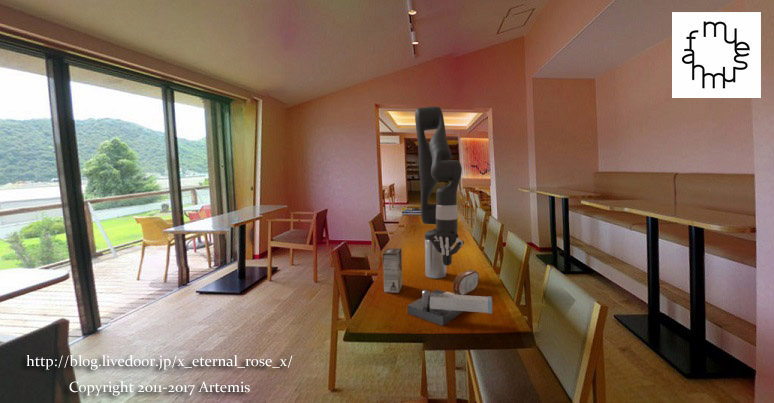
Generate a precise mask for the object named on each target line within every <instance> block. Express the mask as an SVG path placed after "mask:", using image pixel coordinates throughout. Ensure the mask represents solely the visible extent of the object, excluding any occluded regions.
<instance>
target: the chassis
mask: <svg viewBox="0 0 774 403" xmlns="http://www.w3.org/2000/svg"><path fill="white" fill-rule="evenodd" d="M431 293H435V294H451V295H458V294H455V293H454V292H450V291H444V290H440V289H435V290H433V291H431V292H430V290H428V289H423V290H422V291H421V295H422V296H421V297H420V298H418V299H416V300H414V301H413V302H411V303H410V304H409V303H408V305H407V314H408V315H411V316H414V317H417V318H418V319H419V318H420V319H422V320H425V321H428V322H429V323H433V324H436V325H439V326H442V327H443V326H445V325H446V324H448V323H450V322H451V321H452V320H454V319H455V318H456V317H458V316H459V315H461V314H462V313H463V312H464V311H456V310H442V309H430V295H431Z"/></svg>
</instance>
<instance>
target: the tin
mask: <svg viewBox="0 0 774 403" xmlns="http://www.w3.org/2000/svg"><path fill="white" fill-rule="evenodd" d="M479 276H480V273H479V272H478V271H476V270H474V269H468V270H465V271H463V272H460V273H459V274H457V276H456V277H455V279H454V281H453V285H452V289H453V293H454V294H458V295H467V294H469V293H472V292H474V291H475V290H476V289H477V287H478V285H479V280H480V277H479Z"/></svg>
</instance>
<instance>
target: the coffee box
mask: <svg viewBox="0 0 774 403" xmlns="http://www.w3.org/2000/svg"><path fill="white" fill-rule="evenodd" d="M402 256H403V255H402V248H390V247H389V248H386V249H385V251H384V252H383V253H382V267H383V269H382V270H383V291H384V293H395V294H396V293H397V294H399V293H400V291H401V289H402V286H403V265H402V264H403V262H402V261H403V260H402V258H403V257H402Z"/></svg>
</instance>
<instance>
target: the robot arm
mask: <svg viewBox="0 0 774 403" xmlns="http://www.w3.org/2000/svg"><path fill="white" fill-rule="evenodd" d="M444 119H445V118H444V114H443V110H442V108H441V107H440V106H427V107H418V108H416V110H415V112H414V122H415V130H416V138H417V139H416V140H417V149H418V152H417V154H418V174H419V175H418V176H419V182H420V183H419V185H420V216H421V217H420V218H421V222H422V223H423V224H425V225H435V228H434V229H431V230H428V231H426V232H425V233H424V261H425V262H424V264H425V266H424V268H425V271H424V272H425V276H426V277H427V278H429V279H443V278H445V277H446V276H447V266H448V267H449V266H450V265H451V264H452V263H453V262H452V260H453V259H452V256H453V255H455V254H457V253H458V252H459V250H460V249H461V248H462V247H463V245H464V244H465V241H464V240H461V239H460V238H459V235H458V228H459V227H458V223H459V222H458V215H459V214H458V205H457V204H458V203H457V199H458V198H457V196H458V194H457V192H458V187H459V183H460V179H461V175H462V170H463V166H462V164H461V163H460V161H459V160H457V159H456V160H455V159H451V158H452V151H451V149H450V146H449V143H448V139H447V133H446V125H445V120H444ZM433 130H434V131H435V132H434V133H433V135H432V136H431V138H430V141H428V140H427V137H426V134H425V133H426V132H425V131H433ZM441 181H442V182H443V181H446V182H447V181H449V183H448V185H446V186H443V187H439V188H437V189H436V194H435V196H436V199H435V200H436V201H435V203H429V199H430V197H431V194H432V192H433V190H434V189H435V187H436V186H437V184H438V182H441ZM454 244H455V245H454Z"/></svg>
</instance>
